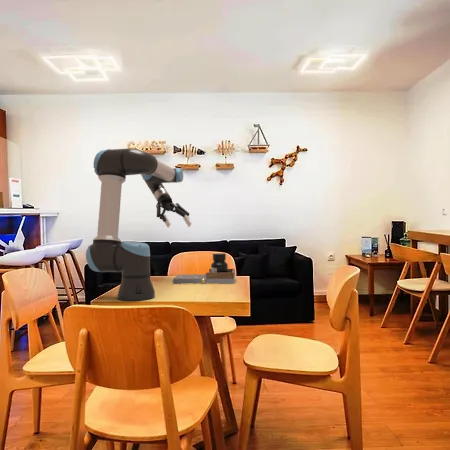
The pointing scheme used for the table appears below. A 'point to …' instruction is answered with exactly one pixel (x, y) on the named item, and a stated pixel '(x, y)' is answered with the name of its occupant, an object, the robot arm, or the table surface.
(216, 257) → the ink bottle
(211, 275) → the holder
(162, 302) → the table surface
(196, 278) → the hinge
